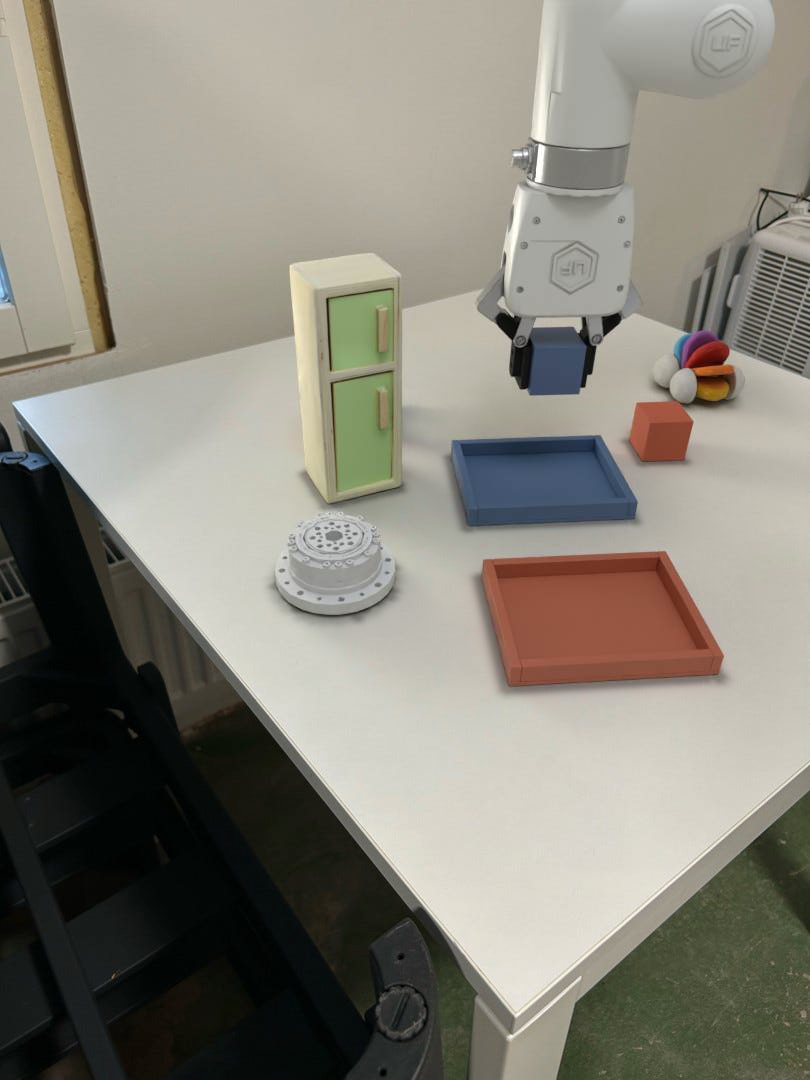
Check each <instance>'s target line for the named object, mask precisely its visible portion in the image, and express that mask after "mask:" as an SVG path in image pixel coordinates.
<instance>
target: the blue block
mask: <svg viewBox="0 0 810 1080" xmlns="http://www.w3.org/2000/svg"><path fill="white" fill-rule="evenodd" d="M578 333H579V332H578V331H577V330H576V328H575V327H574V326H552V327H551V326H543V327H542V326H541V327H533V328H532V331H531V334H530V336H529V338H530V341H529V344H530V346H531V348H532V357H531V366H530V375H529V384H528V388H526V391H527V393H528V395H529V396H530V397H531V396H534V397H535V396H566V395H567V396H568V395H569V396H571V395H572V396H573V395H580V392H581V388H580V387H581V380H582V374H583V367H584V361H585V354H586V345H585V344H584V342H583V341H582V339H581V337H580V336H579V334H578Z"/></svg>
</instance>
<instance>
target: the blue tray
mask: <svg viewBox="0 0 810 1080" xmlns="http://www.w3.org/2000/svg"><path fill="white" fill-rule="evenodd" d="M450 444H451V445H450V447H451V448H450V457H451V463H452V466H453V469H454V473H455V478H456V481H457V486H458V490H459V493H460V496H461V497H460V498H461V501H462V504H463V509H464V513H465V517H466V521H467V526H468V527H473V526H475V527H476V526H497V525H500V526H501V525H519V524H520V525H521V524H544V523H545V524H547V523H562V522H563V523H565V522H566V523H569V522H591V521H592V522H593V521H615V520H616V521H617V520H634V519H636V513H637V509H638V504H639V501H638V499H637V498H636V496H635V494H634V492H633V490H632V489H631V486H630V485H629V484H628V481H627V480H626V478H625V476H624V474H623V473H622V471H621V469H620V467H619V466H618V463H617V461H616V460H615V458H614V456H613V455H612V452H611V451H610V450H609V448H608V446H607V444H606V443H605V440H604V439H603V437H602V435H601V434H595V435H593V434H590V435H589V434H588V435H562V436H561V435H559V436H535V437H533V436H532V437H531V436H530V437H529V436H528V437H505V438H502V437H501V438H481V439H480V438H474V439H472V438H471V439H452V440H451V443H450Z"/></svg>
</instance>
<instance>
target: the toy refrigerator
mask: <svg viewBox="0 0 810 1080" xmlns="http://www.w3.org/2000/svg"><path fill="white" fill-rule="evenodd" d="M288 269H289V284H290V285H289V286H290V297H291V307H292V320H293V330H294V331H293V333H294V343H295V344H294V345H295V355H296V368H297V378H298V379H297V380H298V390H299V402H300V403H299V405H300V415H301V417H300V418H301V427H302V438H303V450H304V463H305V470H306V473H307V475H308V476H309V478H310V479H311V481H312V482H313V484H314V486H315V488H316V489H317V490H318V492H319V493H320V495H321V496H322V498H323V499H324V501H325V502H326V504H334V503H338V502H342V501H347V500H350V499H355V498H359V497H364V496H367V495H371V494H375V493H379V492H382V491H388V490H391V489H396V488H399V487H401V486H402V483H403V276H402V274H401V273H400V272H399V271H398V270H397V269H395V268H394V267H393V266H391V265H390V264H389V263H388V262H386V261H385V260H384V259H382V258H381V257H379V256H378V255H377V254H376V253H374V252H364V253H355V254H348V255H341V256H335V257H328V258H320V259H314V260H305V261H299V262H293V263H290V265H289V268H288Z"/></svg>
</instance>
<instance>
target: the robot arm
mask: <svg viewBox="0 0 810 1080" xmlns="http://www.w3.org/2000/svg"><path fill="white" fill-rule="evenodd" d="M773 2H774V0H543V5H542V10H541V11H542V14H541V23H540V34H539V44H538V55H537V66H536V74H535V84H534V85H535V86H534V97H533V107H532V117H531V128H530V136H528V137H527V143H526V144H525V145H524V146H525V147H520V148H519V149H518V148H517V149H514V148H513V149H511V150H510V152H509V167H510V169H519V171H523V172H524V174H526V178H521V179H520V180H519V181H518V182H517V186H516V188H515V192H514V196H513V200H512V203H511V208H510V212H509V217H508V222H507V225H506V226H507V227H506V232H505V238H504V242H503V249H502V256H501V263H500V269H499V270H498V271H497V272H496V274H495V275H494V276H493V277H492V279H491V280H490V281H489V282H488V283H487V285H486V286H485V287H484V289H482V291H481V292H480V294H479V295H478V296H477V297H476V299H475V300H474V305H475V308H476V310H477V311H478V313H480V314H481V315H482V316H484V317H485V318H486V319H488V320H489V321H490V322H492V323H494V324H495V325H497V327H498V328H499V329H500V330H501V331H502V333H504V335H506V336H507V338H509V340H510V341H511V342H510V352H509V362H508V363H509V364H508V371H509V372H508V373H509V375H510V377H511V378H514V379H515V381H516V384H517V386H518V389H519V390H522V391H524V390H526V391H527V388H528V384H529V375H530V366H531V357H532V348H531V346H530V344H529V341H530V338H529V336H530V334H531V331H532V328H534V325H535V322H536V319H549V318H550V319H555V318H556V319H557V318H558V319H559V318H580V325H581V327H580V328H581V329H580V330H579V332H577V333H578V334H579V336H580V337H581V339H582V341H583V342H584V344H585V345H586V354H585V361H584V367H583V374H582V380H581V387H580V389H586V387H587V380H588V376H592V375H593V372H594V366H595V360H596V354H597V348H598V346H600V345H601V344H602V343H603V342H604V338H605V337H606V336H608V334H610V333H611V332H612V331H613V330H615V328H616V327H618V326H619V325H620V324H621V322H622V321H623V320H626V319H627V318H629V317H631V316H632V315H634V314H635V313H636V312H638V311H639V310H641V309H642V308H643V305H644V301H643V299H642V297H641V296H640V294H639V292H638V290H637V288H636V287H635V285H634V283H633V280H631V271H632V262H633V251H634V238H635V235H634V234H635V215H636V213H635V209H636V208H635V207H636V206H635V203H636V202H635V187H633V186H632V185H631V184H629V183H627V182H626V181H625V180H626V179H625V178H626V173H627V168H628V167H627V166H628V159H629V154H630V148H631V141H632V135H633V129H634V123H635V118H636V111H637V106H638V100H639V99H638V98H639V92H640V91H645V92H652V93H658V94H664V95H669V96H674V97H680V98H687V99H694V100H708V99H709V100H711V99H714V98H719V97H723V96H726V95H728V94H730V93H733V92H735V91H737V90H738V89H740V88H742V87H743V86H744V85H746V84H747V83H749V82H750V81H751V80H752V79H753V78H754V77H755V76H756V75H757V73H759V71H760V69H762V67H763V65H764V64H765V63H766V60H767V59H768V56H769V55H770V52H771V50H772V46H773V43H774V39H775V33H776V31H775V30H776V21H775V13H774V8H773V7H772V3H773ZM501 298H504V303H505V307H506V308H507V309H508V311H509V312H508V311H507V310H506V309H505V308H503V307H501V306H500V305H499V304H498V303H499V301H500V300H501ZM511 314H512V315H511Z"/></svg>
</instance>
